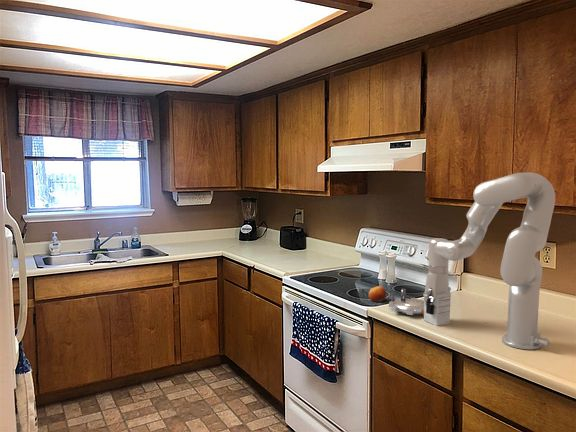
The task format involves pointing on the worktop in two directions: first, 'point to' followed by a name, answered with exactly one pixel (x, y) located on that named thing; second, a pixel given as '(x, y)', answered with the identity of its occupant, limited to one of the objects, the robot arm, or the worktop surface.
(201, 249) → the worktop surface
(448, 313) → the supplement box
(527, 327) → the robot arm
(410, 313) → the silver knobbed tray
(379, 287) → the fruit
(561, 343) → the worktop surface
